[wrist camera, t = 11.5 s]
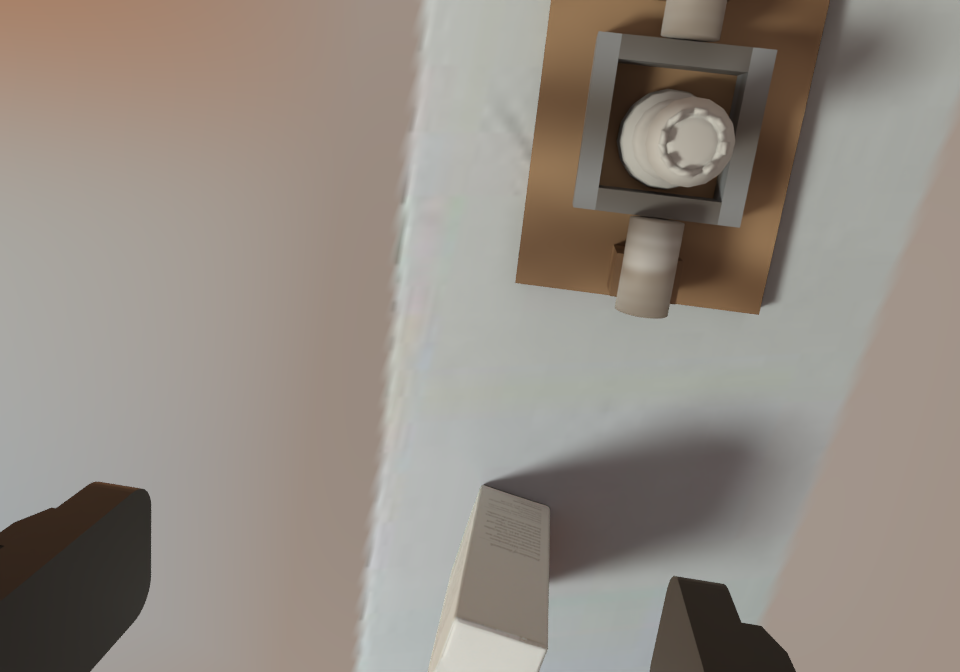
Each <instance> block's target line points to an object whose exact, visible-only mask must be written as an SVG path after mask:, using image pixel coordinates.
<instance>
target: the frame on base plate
mask: <svg viewBox="0 0 960 672" xmlns="http://www.w3.org/2000/svg"><path fill="white" fill-rule="evenodd" d="M829 2H830V0H551V5H550V13H549V21H548V29H547V37H546V45H545V53H544V61H543V69H542V76H541V84H540V92H539V100H538V108H537V116H536V124H535V132H534V140H533V148H532V156H531V163H530V171H529V179H528V187H527V195H526V203H525V211H524V219H523V227H522V235H521V242H520V250H519V258H518V266H517V274H516V282H515V283H521V284H528V285H536V286H544V287H551V288H559V289H567V290H574V291H582V292H589V293H597V294H605V295H610V296H615V297H617V298H616V304H615V309H617V310H618V311H620V312H623V313H625V314H629V315H633V316H637V317H644V318H665V317H667V316H668V310H669V305H670V304H681V305H689V306H696V307H704V308H712V309H719V310H727V311H735V312H742V313H750V314H758V315H759V312H760V307H761V303H762V298H763V294H764V289H765V285H766V281H767V276H768V272H769V267H770V263H771V258H772V254H773V250H774V245H775V241H776V236H777V232H778V228H779V223H780V219H781V214H782V210H783V205H784V201H785V197H786V192H787V188H788V183H789V179H790V174H791V170H792V166H793V161H794V157H795V152H796V148H797V144H798V139H799V135H800V130H801V126H802V121H803V117H804V113H805V108H806V104H807V99H808V95H809V91H810V86H811V82H812V77H813V73H814V68H815V64H816V60H817V55H818V51H819V46H820V42H821V37H822V33H823V29H824V24H825V20H826V15H827V11H828V7H829ZM664 89H673V90H679V91H685V92H690V93H691V94H693V95H694V96H696V97H699V98H705V99H710V100H711V101H713V102H714V103H716V104H717V105H719V106H720V107H722V108H723V109H724V110H725V112H726V113H727V115H728V116H729V118H730V120H731V121H732V123H733V127H734V134H735V145H734V149H733V153H732V157H731V159H730V161H729V162H728V164H727V165H726V166H725V168H724V169H723V171H722V172H721V173H720V174H719V175H718V176H716V177H715V178H713V179H712V180H710V181H709V182H707V183H706V184H701V185H697V186H692V187H683V186H680V187H676V188H671V189H659V188H653V187H647V186H645V185H643V184H642V183H640V182H639V181H637V180H636V179H634V178H633V177H631V176H630V175H629V173H628V172H627V170H626V169H625V167H624V166H623V164H622V163H621V161H620V157H619V152H618V146H617V138H618V133H619V128H620V123H621V121H622V119H623V118H624V116H625V115H626V113H627V112H628V110H629V109H630V107H631V106H632V105H633V104H634V103H636V102H637V101H638V100H640V99H641V98H643V97H644V96H645V95H647V94H648V93H652V92H656V91H660V90H664Z"/></svg>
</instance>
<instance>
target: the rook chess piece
mask: <svg viewBox="0 0 960 672" xmlns="http://www.w3.org/2000/svg"><path fill="white" fill-rule="evenodd" d="M734 145H735V134H734V127H733V123H732V121H731V120H730V118H729V116H728V115H727V113H726V112H725V110H724V109H723V108H722V107H720V106H719V105H717V104H716V103H714V102H713V101H711V100H710V99H705V98H699V97H696V96H694V95H693V94H691V93H690V92H685V91H679V90H673V89H664V90H660V91H656V92H652V93H648V94H647V95H645V96H644V97H643V98H641V99H640V100H638V101H637V102H636V103H634V104H633V105H632V106H631V107H630V109H629V110H628V112H627V113H626V115H625V116H624V118H623V119H622V121H621V123H620V128H619V133H618V138H617V146H618V152H619V157H620V161H621V163H622V164H623V166H624V167H625V169H626V170H627V172H628V173H629V175H630V176H631V177H633V178H634V179H636V180H637V181H639V182H640V183H642V184H643V185H645V186H647V187H653V188H659V189H671V188H676V187H680V186H683V187H692V186H697V185H701V184H706V183H707V182H709V181H710V180H712V179H713V178H715V177H716V176H718V175H719V174H720V173H721V172H722V171H723V169H724V168H725V166H726V165H727V164H728V162H729V161H730V159H731V157H732V153H733V149H734Z"/></svg>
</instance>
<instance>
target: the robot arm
mask: <svg viewBox="0 0 960 672" xmlns="http://www.w3.org/2000/svg"><path fill="white" fill-rule="evenodd" d="M150 581H151V500H150V496H149V494H148V492H147V491H146V490H144V489H140V488H134V487H128V486H122V485H115V484H109V483H103V482H93V483H91V484H89V485H88V486H86V487H85V488H83V489H82V490H81V491H79V492H78V493H77V494H75V495H74V496H72V497H71V498H70V499H68V500H67V501H66V502H64V503H63V504H61V505H60V506H59V507H57V508H50V509H47V510H45V511H42V512H40V513H37V514H35V515H32V516H30V517H27V518H25V519H22V520H20V521H17V522H15V523H13V524H11V525H10V526H9V527H7V528H6V529H4V530H3V531H2V532H0V672H90V671H91V670H92V669H93V668H94V666H95V665H96V664H97V663H98V662H99V661H100V660H101V659H102V657H103V656H104V655H105V654H106V653H107V652H108V651H109V650H110V648H111V647H112V646H113V645H114V644H115V643H116V642H117V640H118V639H119V638H120V637H121V636H122V635H123V633H125V631H126V630H127V629H128V628H129V627H130V626H131V625H132V623H133V622H134V621H135V620H136V619H137V617H138V615H139V614H140V612H141V610H142V608H143V606H144V604H145V601H146V598H147V595H148V592H149V587H150ZM650 672H796V671H795V669H794V667H793V664H792V663H791V660H790V658H789V656H788V653H787V652H786V651H785V650H784V649H783V648H782V647H781V646H780V645H779V644H778V643H777V642H776V641H775V640H774V639H773V638H772V637H771V636H770V635H769V634H768V633H767V632H766V631H765V629H764V628H763V627H762V626H758V625H752V624H746V623H741V621H740V618H739V616H738V613H737V610H736V608H735V605H734V603H733V600H732V598H731V595H730V593H729V590H728V588H727V586H726V585H724V584H720V583H714V582H708V581H702V580H695V579H689V578H683V577H677V576H673V577H672V578H671V580H670V582H669V585H668V588H667V592H666V597H665V601H664V606H663V611H662V615H661V620H660V624H659V629H658V634H657V638H656V643H655V648H654V652H653V657H652V661H651V667H650Z"/></svg>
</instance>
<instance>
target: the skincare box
mask: <svg viewBox="0 0 960 672" xmlns="http://www.w3.org/2000/svg"><path fill="white" fill-rule="evenodd" d="M549 538H550V508H549V507H548V506H546V505H543V504H539V503H536V502H533V501H530V500H527V499H524V498H521V497H518V496H515V495H511V494H508V493H505V492H502V491H499V490H497V489H493V488H490V487H487V486H484V485H482V486H481V487H480V489H479V492H478V495H477V498H476V501H475V504H474V506H473V509H472V512H471V515H470V518H469V521H468V524H467V527H466V529H465V532H464V535H463V538H462V541H461V544H460V547H459V550H458V553H457V556H456V559H455V562H454V565H453V568H452V571H451V575H450V579H449V584H448V588H447V592H446V596H445V600H444V605H443V609H442V613H441V618H440V622H439V626H438V631H437V635H436V639H435V643H434V647H433V651H432V656H431V660H430V664H429V668H428V672H539V670H540V667H541V664H542V662H543V659H544V657H545V654H546V652H547V649H548V603H549V598H548V596H549Z"/></svg>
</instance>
